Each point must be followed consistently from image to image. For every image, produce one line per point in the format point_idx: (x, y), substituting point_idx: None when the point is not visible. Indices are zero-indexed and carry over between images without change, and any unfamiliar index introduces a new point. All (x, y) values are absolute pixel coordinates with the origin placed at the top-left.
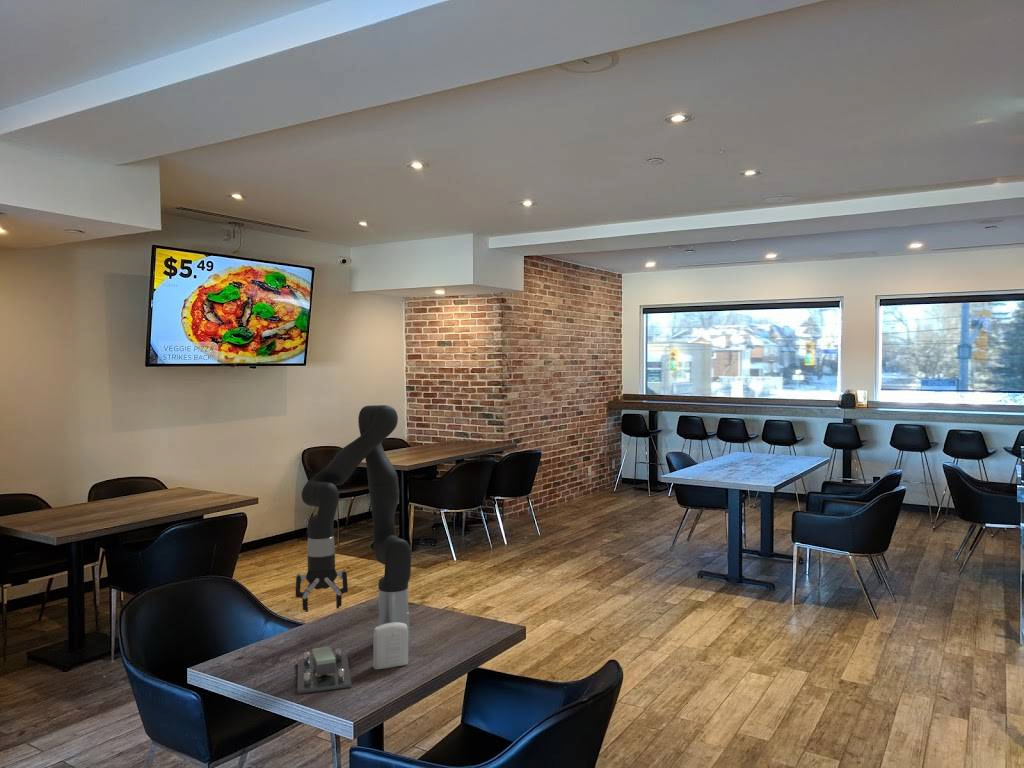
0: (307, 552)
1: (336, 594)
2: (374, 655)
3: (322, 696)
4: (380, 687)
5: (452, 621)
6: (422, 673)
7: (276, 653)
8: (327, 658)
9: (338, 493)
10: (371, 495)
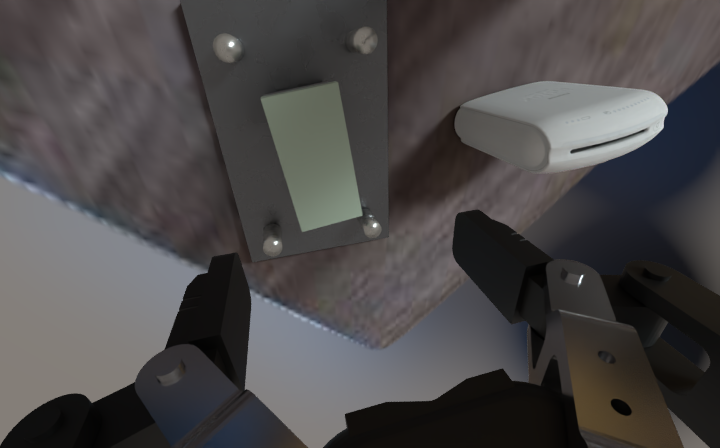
0: None
1: (523, 284)
2: (478, 141)
3: (319, 270)
4: (447, 238)
5: None
6: (548, 177)
7: None
8: (336, 210)
9: None
10: None
